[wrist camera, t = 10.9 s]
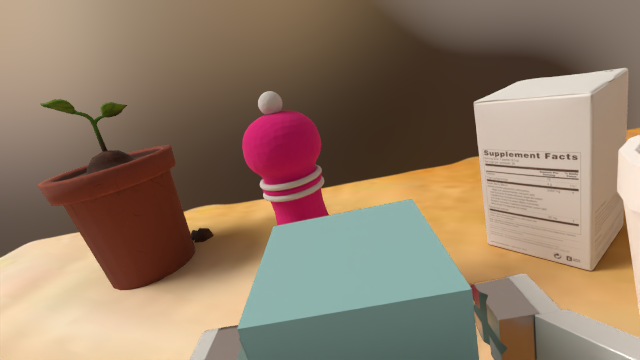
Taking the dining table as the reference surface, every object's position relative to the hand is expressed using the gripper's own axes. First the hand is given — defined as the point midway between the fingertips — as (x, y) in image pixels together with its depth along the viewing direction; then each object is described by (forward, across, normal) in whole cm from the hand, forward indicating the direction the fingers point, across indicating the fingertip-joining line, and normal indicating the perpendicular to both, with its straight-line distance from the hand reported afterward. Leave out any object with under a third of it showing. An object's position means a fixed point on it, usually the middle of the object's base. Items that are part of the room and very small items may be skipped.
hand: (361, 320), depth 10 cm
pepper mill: (+17, +4, +13) cm, 22 cm away
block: (-1, 0, +7) cm, 7 cm away
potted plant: (+36, +32, +13) cm, 50 cm away
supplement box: (+22, -19, +13) cm, 32 cm away
